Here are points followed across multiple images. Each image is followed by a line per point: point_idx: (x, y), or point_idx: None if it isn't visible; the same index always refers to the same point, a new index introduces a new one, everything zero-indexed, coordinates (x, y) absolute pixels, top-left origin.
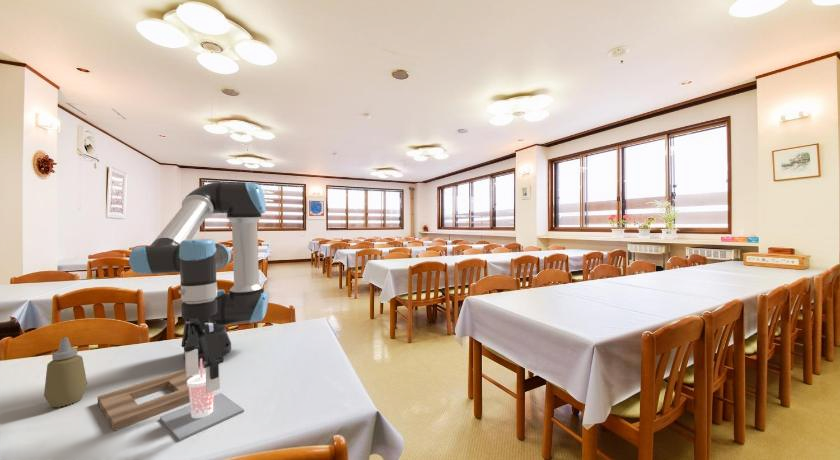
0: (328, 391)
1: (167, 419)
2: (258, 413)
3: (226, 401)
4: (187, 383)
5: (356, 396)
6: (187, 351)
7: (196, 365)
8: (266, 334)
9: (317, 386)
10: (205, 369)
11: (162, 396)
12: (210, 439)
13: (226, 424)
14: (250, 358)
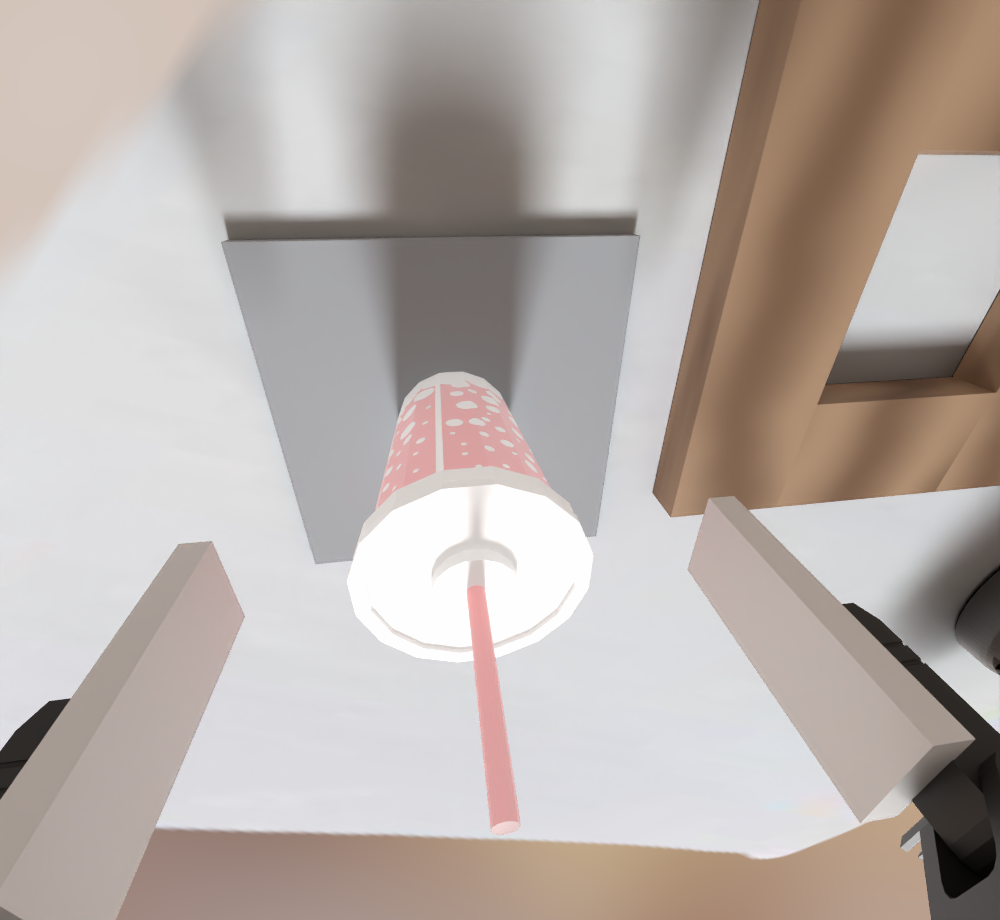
0: (233, 776)
1: (556, 260)
2: (247, 590)
3: None
4: (478, 482)
5: None
6: (963, 755)
7: (735, 621)
8: None
9: (309, 763)
10: (40, 817)
11: (846, 312)
12: (122, 375)
13: (244, 472)
14: None
